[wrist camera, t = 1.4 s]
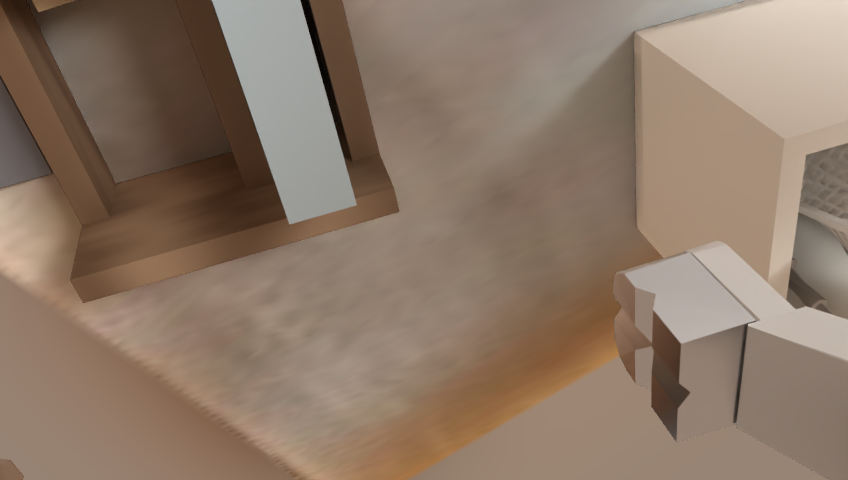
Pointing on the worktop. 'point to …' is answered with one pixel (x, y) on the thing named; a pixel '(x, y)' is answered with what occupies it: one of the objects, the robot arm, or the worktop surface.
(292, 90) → the pale blue-grey board
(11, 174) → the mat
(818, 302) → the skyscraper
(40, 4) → the offcut mid
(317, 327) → the worktop surface
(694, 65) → the open white box
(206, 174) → the rack
